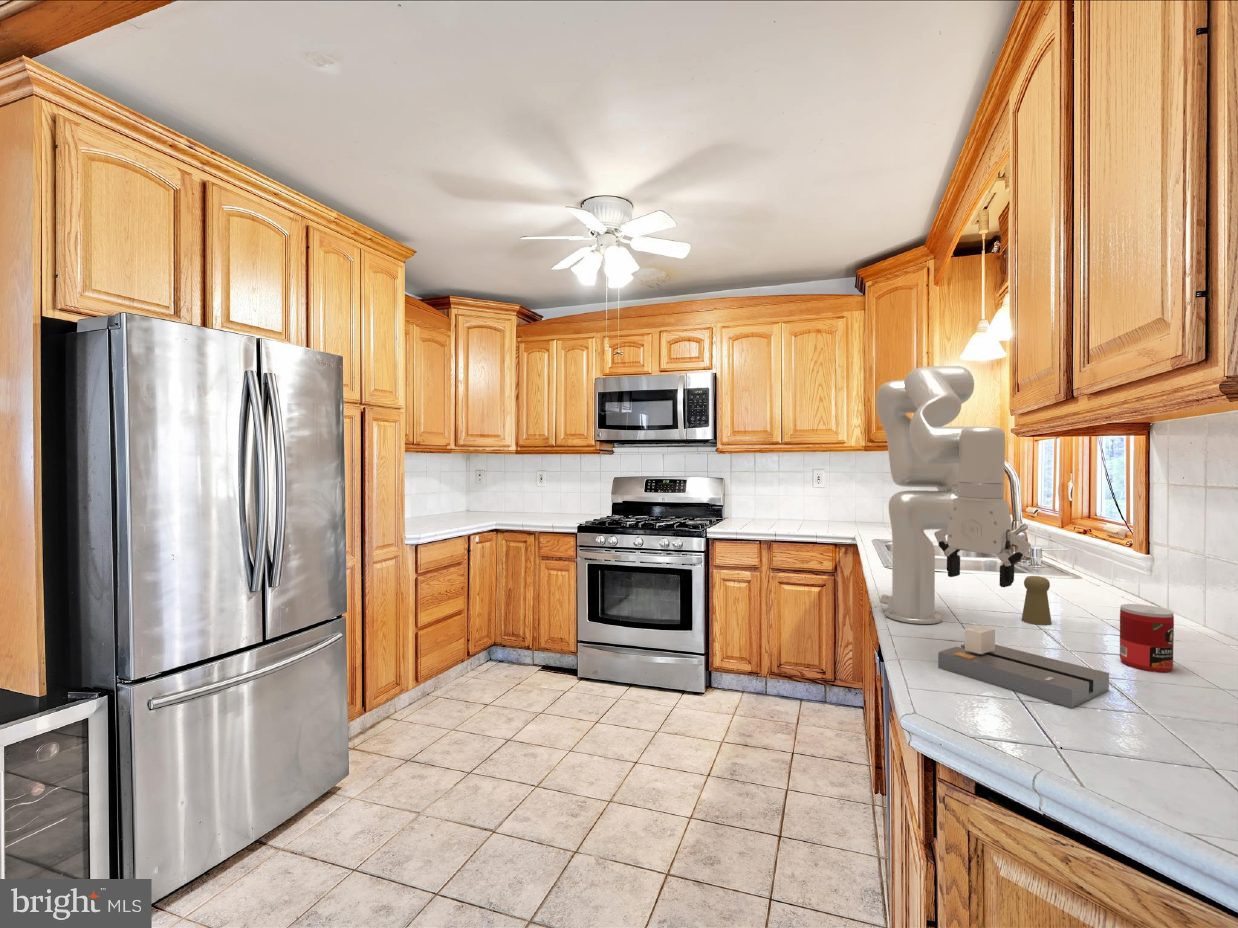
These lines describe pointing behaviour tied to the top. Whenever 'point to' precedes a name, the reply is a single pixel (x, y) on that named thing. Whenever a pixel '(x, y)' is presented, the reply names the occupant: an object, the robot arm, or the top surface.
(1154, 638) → the canned food
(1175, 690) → the top surface
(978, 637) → the fader knob
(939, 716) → the top surface
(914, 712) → the top surface
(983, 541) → the robot arm
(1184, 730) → the top surface
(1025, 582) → the cork
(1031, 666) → the fader console
